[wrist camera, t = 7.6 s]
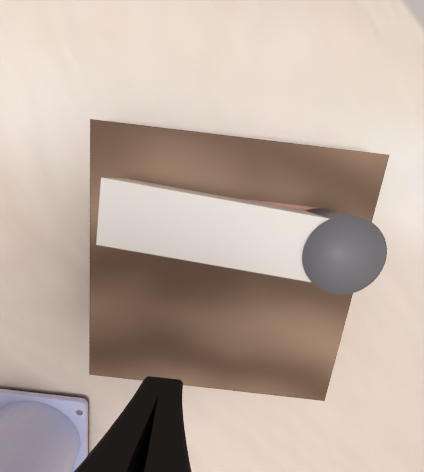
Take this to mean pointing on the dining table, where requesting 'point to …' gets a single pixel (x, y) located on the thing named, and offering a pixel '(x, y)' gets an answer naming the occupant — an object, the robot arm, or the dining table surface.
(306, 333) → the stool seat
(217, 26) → the dining table surface
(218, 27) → the dining table surface
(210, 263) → the white bar with cylinder
